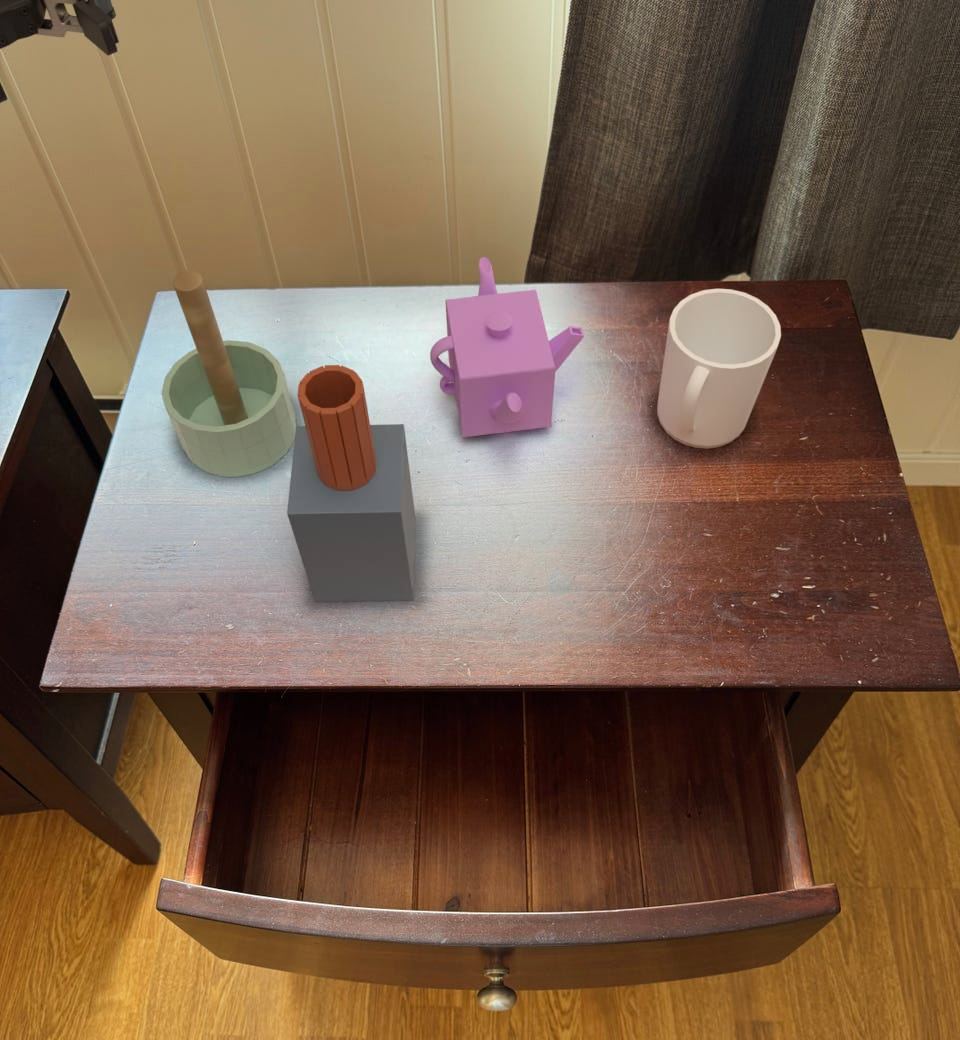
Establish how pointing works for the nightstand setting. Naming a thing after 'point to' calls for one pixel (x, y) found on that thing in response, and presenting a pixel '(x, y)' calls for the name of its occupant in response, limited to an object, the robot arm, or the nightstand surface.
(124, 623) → the nightstand surface
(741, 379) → the mug
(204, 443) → the bowl
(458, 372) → the teapot
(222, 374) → the stick
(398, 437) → the holder
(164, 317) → the nightstand surface
